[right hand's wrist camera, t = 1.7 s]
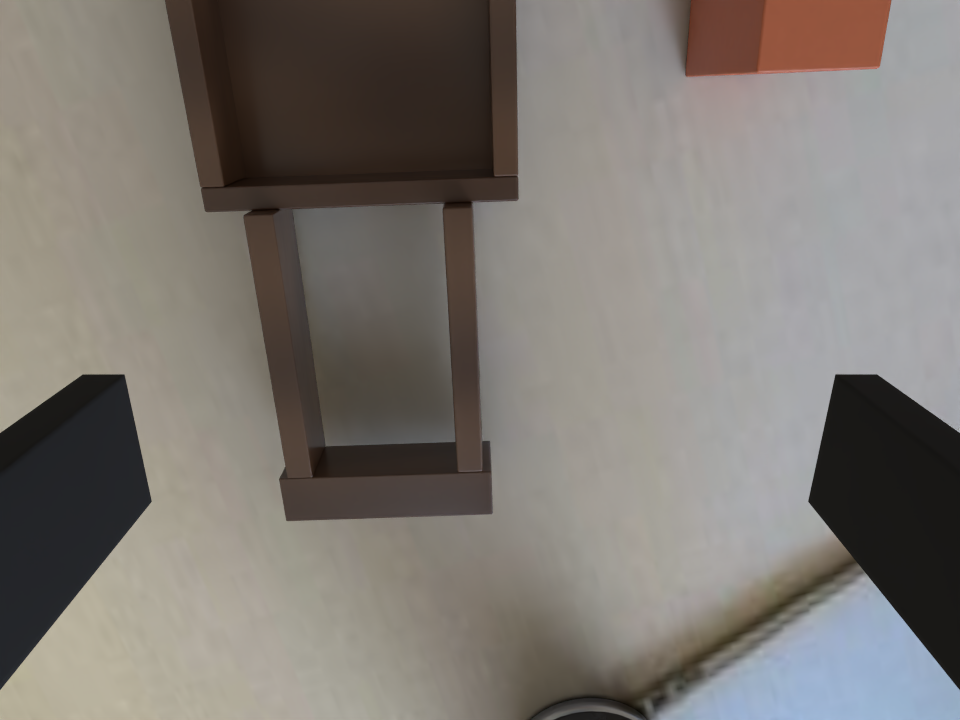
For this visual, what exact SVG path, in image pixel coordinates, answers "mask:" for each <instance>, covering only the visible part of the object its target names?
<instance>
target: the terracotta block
mask: <svg viewBox="0 0 960 720" xmlns="http://www.w3.org/2000/svg"><path fill="white" fill-rule="evenodd" d="M890 5H891V0H691V9H690V23H689V36H688V50H687V63H686V76H687V77H690V76H716V75H743V74H769V73H792V72H814V71H837V70H859V69H877V68H879V66H880V62H881V56H882V51H883V45H884V39H885V33H886V28H887V22H888V16H889V11H890Z"/></svg>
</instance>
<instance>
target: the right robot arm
mask: <svg viewBox="0 0 960 720" xmlns="http://www.w3.org/2000/svg"><path fill="white" fill-rule="evenodd" d="M151 502H152V501H151V496H150V492H149V487H148V482H147V478H146V473H145V468H144V464H143V459H142V454H141V450H140V445H139V440H138V436H137V431H136V426H135V422H134V417H133V412H132V408H131V403H130V398H129V394H128V389H127V384H126V380H125V375H82V376H80V377H79V378H77V379H76V380H75V381H73V382H72V383H70V384H69V385H68V386H66V387H65V388H63V389H62V390H60V391H59V392H58V393H56V394H55V395H53V396H52V397H51V398H49V399H48V400H46V401H45V402H44V403H42V404H41V405H39V406H38V407H36V408H35V409H34V410H32V411H31V412H29V413H28V414H27V415H25V416H24V417H22V418H21V419H20V420H18V421H17V422H15V423H14V424H12V425H11V426H10V427H8V428H7V429H5V430H4V431H3V432H1V433H0V689H1V688H2V687H3V686H4V685H5V683H6V682H7V681H8V680H9V678H10V677H11V676H12V675H13V673H14V672H15V671H16V670H17V668H18V667H19V666H20V665H21V663H22V662H23V661H24V660H25V658H26V657H27V656H28V655H29V653H30V652H31V651H32V650H33V648H34V647H35V646H36V645H37V643H38V642H39V641H40V640H41V639H42V637H43V636H44V635H45V634H46V632H47V631H48V630H49V629H50V627H51V626H52V625H53V624H54V622H55V621H56V620H57V619H58V617H59V616H60V615H61V614H62V612H63V611H64V610H65V609H66V607H67V606H68V605H69V604H70V602H71V601H72V600H73V599H74V597H75V596H76V595H77V594H78V593H79V591H80V590H81V589H82V588H83V586H84V585H85V584H86V583H87V581H88V580H89V579H90V578H91V576H92V575H93V574H94V573H95V571H96V570H97V569H98V568H99V566H100V565H101V564H102V563H103V561H104V560H105V559H106V558H107V556H108V555H109V554H110V553H111V552H112V550H113V549H114V548H115V547H116V545H117V544H118V543H119V542H120V540H121V539H122V538H123V537H124V535H125V534H126V533H127V532H128V530H129V529H130V528H131V527H132V525H133V524H134V523H135V522H136V520H137V519H138V518H139V517H140V515H141V514H142V513H143V512H144V510H145V509H146V508H147V507H148V506H149V504H150V503H151ZM808 502H809V503H810V504H811V506H812V507H813V508H814V509H815V510H816V512H817V513H818V514H819V515H820V517H821V518H822V519H823V520H824V522H825V523H826V524H827V525H828V527H829V528H830V529H831V530H832V532H833V533H834V534H835V535H836V537H837V538H838V539H839V540H840V542H841V543H842V544H843V545H844V547H845V548H846V549H847V550H848V552H849V553H850V554H851V555H852V556H853V558H854V559H855V560H856V561H857V563H858V564H859V565H860V566H861V568H862V569H863V570H864V571H865V573H866V574H867V575H868V576H869V578H870V579H871V580H872V581H873V583H874V584H875V585H876V586H877V588H878V589H879V590H880V591H881V593H882V594H883V595H884V596H885V597H886V599H887V600H888V601H889V602H890V604H891V605H892V606H893V607H894V609H895V610H896V611H897V612H898V614H899V615H900V616H901V617H902V619H903V620H904V621H905V622H906V624H907V625H908V626H909V627H910V629H911V630H912V631H913V632H914V634H915V635H916V636H917V637H918V639H919V640H920V641H921V642H922V643H923V645H924V646H925V647H926V648H927V650H928V651H929V652H930V653H931V655H932V656H933V657H934V658H935V660H936V661H937V662H938V663H939V665H940V666H941V667H942V668H943V670H944V671H945V672H946V673H947V675H948V676H949V677H950V678H951V680H952V681H953V682H954V683H955V685H956V686H957V687H958V688H959V689H960V433H959V432H957V431H956V430H955V429H953V428H952V427H950V426H949V425H948V424H946V423H945V422H943V421H942V420H940V419H939V418H938V417H936V416H935V415H933V414H932V413H931V412H929V411H928V410H926V409H925V408H924V407H922V406H921V405H919V404H918V403H916V402H915V401H914V400H912V399H911V398H909V397H908V396H907V395H905V394H904V393H902V392H901V391H900V390H898V389H897V388H895V387H894V386H892V385H891V384H890V383H888V382H887V381H885V380H884V379H883V378H881V377H880V376H878V375H835V380H834V384H833V389H832V394H831V398H830V403H829V408H828V412H827V417H826V422H825V426H824V431H823V436H822V440H821V445H820V450H819V454H818V459H817V464H816V468H815V473H814V478H813V482H812V487H811V492H810V496H809V501H808Z"/></svg>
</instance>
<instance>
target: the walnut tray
mask: <svg viewBox="0 0 960 720" xmlns="http://www.w3.org/2000/svg"><path fill="white" fill-rule="evenodd" d="M165 3H166V8H167V13H168V19H169V24H170V29H171V34H172V40H173V45H174V50H175V56H176V61H177V66H178V71H179V77H180V82H181V87H182V92H183V98H184V103H185V108H186V113H187V119H188V124H189V129H190V134H191V140H192V145H193V150H194V156H195V161H196V166H197V171H198V177H199V182H200V186H201V187H202V188H201V192H202V197H203V202H204V208H205V211H206V212H226V211H251V212H249V213H247V214H245V215H244V216H243V217H244V223H245V229H246V235H247V241H248V247H249V253H250V259H251V265H252V271H253V276H254V282H255V288H256V294H257V300H258V306H259V312H260V318H261V324H262V330H263V336H264V342H265V347H266V353H267V359H268V365H269V371H270V377H271V383H272V389H273V395H274V401H275V407H276V413H277V419H278V424H279V430H280V436H281V442H282V448H283V454H284V460H285V466H286V467H285V469H284V471H283V473H282V475H281V477H280V479H279V481H280V487H281V493H282V498H283V504H284V510H285V515H286V520H287V521H303V520H333V519H363V518H393V517H422V516H452V515H482V514H492V513H493V506H492V476H491V451H490V441H482V423H481V397H480V371H479V345H478V319H477V293H476V268H475V242H474V216H473V202H497V201H517V200H518V177H517V175H518V128H517V52H516V0H165ZM443 203H444V207H443V225H444V243H445V261H446V279H447V297H448V314H449V332H450V350H451V368H452V386H453V404H454V422H455V440H456V442H444V443H415V444H385V445H356V446H327V447H325V439H324V432H323V425H322V418H321V411H320V404H319V397H318V390H317V382H316V375H315V368H314V361H313V354H312V347H311V340H310V333H309V326H308V318H307V311H306V304H305V297H304V290H303V283H302V276H301V269H300V262H299V255H298V247H297V240H296V233H295V226H294V219H293V212H292V209H307V208H334V207H361V206H388V205H415V204H443Z"/></svg>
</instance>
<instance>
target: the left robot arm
mask: <svg viewBox="0 0 960 720" xmlns="http://www.w3.org/2000/svg"><path fill="white" fill-rule="evenodd" d="M531 720H647V719H646V718H645V717H644V716H643V715H642V714H641V713H639V712H638V711H637V710H635V709H633V708H631V707H630V706H628V705H625V704H623V703H620V702H617V701H612V700H608V699H600V698H582V699H574V700H570V701H565V702H562V703H559V704H556V705H553V706H551V707H549V708H547V709H545V710H543V711H542V712H540V713H539V714H537V715H536V716H535V717H533V718H532V719H531Z"/></svg>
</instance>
